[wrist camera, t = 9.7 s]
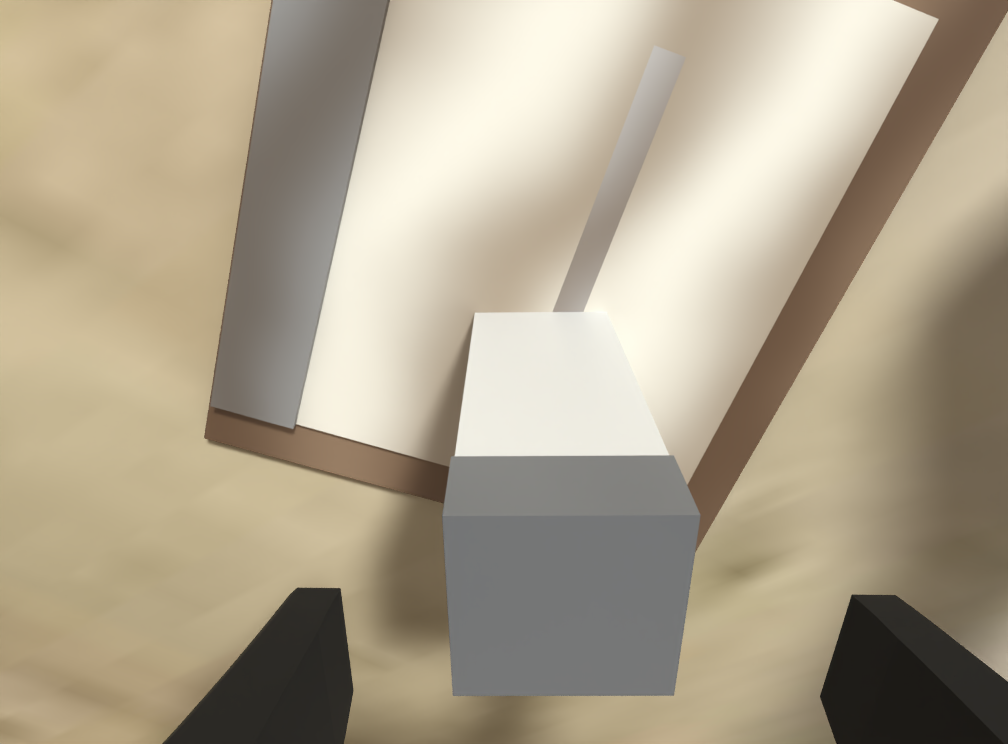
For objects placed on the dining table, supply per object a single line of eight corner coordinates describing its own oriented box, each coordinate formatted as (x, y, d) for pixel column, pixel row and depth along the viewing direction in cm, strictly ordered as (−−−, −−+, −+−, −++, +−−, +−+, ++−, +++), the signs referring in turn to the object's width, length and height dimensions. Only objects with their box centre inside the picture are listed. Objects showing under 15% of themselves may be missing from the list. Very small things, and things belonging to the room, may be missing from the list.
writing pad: (1017, -26, 14) (1048, -33, 14) (682, 560, 22) (689, 579, 21) (329, -324, 12) (316, -354, 12) (209, 431, 20) (197, 446, 19)
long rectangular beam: (608, 309, 17) (700, 515, 9) (601, 428, 19) (674, 695, 11) (472, 310, 17) (442, 516, 9) (476, 429, 19) (452, 696, 11)
